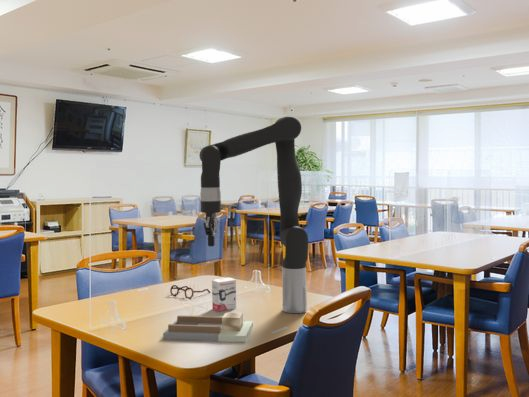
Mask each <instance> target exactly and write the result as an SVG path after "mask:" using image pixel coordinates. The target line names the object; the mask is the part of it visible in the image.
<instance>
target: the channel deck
mask: <svg viewBox="0 0 529 397" xmlns="http://www.w3.org/2000/svg"><path fill="white" fill-rule="evenodd" d="M222 317H223V316H210V315H203V316H202V315H181V314H179V315H177V316H176V320H175V321H174V322H172V324H171V323H170V324H168V325H167V329H166V330H165V331H164V332H163V333H162V337H163V338H162V340H169V339H172V340H174V341H201V342H202V341H203V342H204V341H205V342H225V343H226V342H228V343H229V342H231V343H232V342H233V343H247V340H248V339H249V336H250V335H251V333H252V330H253V329H254V321H253V320H243V327H242V329H241V330H240V331H222Z"/></svg>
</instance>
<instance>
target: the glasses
mask: <svg viewBox="0 0 529 397" xmlns="http://www.w3.org/2000/svg"><path fill="white" fill-rule="evenodd" d="M172 290H177V291H176V293H175V294H174V293H173V291H172ZM188 290H190V291H191V295H190V296H187V291H188ZM180 291H184V297H185V298H186V299H192V298H193V296H194V294H195V293H203V292H205V291H207V292H208V293H209V294H210V293H211V294H212V291H210V290H209V289H208V288H205V289H203V290H194V289H193V288H192V287H188V286H187V285H184V286H180V287H179V286H178V285H175V284H172V286H171V287H170V295H174V296H173V297H176V296H178V294H179V292H180Z"/></svg>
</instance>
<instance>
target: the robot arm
mask: <svg viewBox="0 0 529 397" xmlns="http://www.w3.org/2000/svg"><path fill="white" fill-rule="evenodd" d="M301 132H302V124H301V122H300V120H299V119H298V118H296V117H294V116H292V115H291V116H289V115H287V116H283V117H280V118H278V119H277V120H276V121H275V123H273V124H270V125H268V126H266V127H263V128H260V129H257V130H253V131H250V132H245V133H242V134H239V135H236V136H233V137H230V138H228V139H225V140H223V141H221V142H217V143H214V144H209V145H206V146H204V147H203V148H201V150H200V151H199V156H198V157H199V159H200V161H201V174H200V193H199V194H200V198H199V199H200V201H199V202H200V203H199V204H200V212H201V213H202V214H205V217H204V222H203V226H204V231H205V235H206V236H207V246H208V247H215V245H216V243H215V240H216V239H215V238H216V237H215V236H216V234H217V230H218V222H219V219H218V217H217V214H219V213H221V212H222V200H221V198H222V196H221V195H222V194H221V193H222V192H221V183H220V182H221V181H220V176H221V175H220V171H221V161H224V160H226V159H230V158H235V157H238V156H240V155H243V154H247V153H249V152H252V151H254V150H257V149H259V148H261V147H265V146H267V145H271V144H274V143H275V149H276V170H277V171H276V172H277V190H278V191H277V192H278V203H279V210H280V211H279V212H280V213H279V214H280V218H279V219H280V220H279V239H280V240H279V241H280V243H281V244H282V245H283V247H284V249H285V250H284V251H285V255H284V258H282V264H281V266H282V270H281V271H282V274H281V275H282V280H281V281H282V311H283V312H285V313H288V314H300V313H301V314H302V313H307V305H308V304H307V301H308V300H307V298H308V296H307V291H308V290H307V262H308V257H309V237H308V236H309V235H308V233H307V231H306V230H305V229H304V228H303V227H300V222H299V207H300V203H301V198H302V192H303V187H302V186H303V182H302V174H301V170H300V167H299V166H300V165H299V163H298V160H297V155H296V149H295V144H296V143H295V141H296V139H297V138H298V136H300V134H301Z"/></svg>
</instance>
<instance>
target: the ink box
mask: <svg viewBox="0 0 529 397" xmlns="http://www.w3.org/2000/svg"><path fill="white" fill-rule="evenodd" d="M211 294H212V295H211V298H212V310H214V311H216V312H221V311H222V312H223V311H227V310H235V309H237V280H236V279H235V278H232V277H222V278H217V279H216V278H215V279H213V280H211Z"/></svg>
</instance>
